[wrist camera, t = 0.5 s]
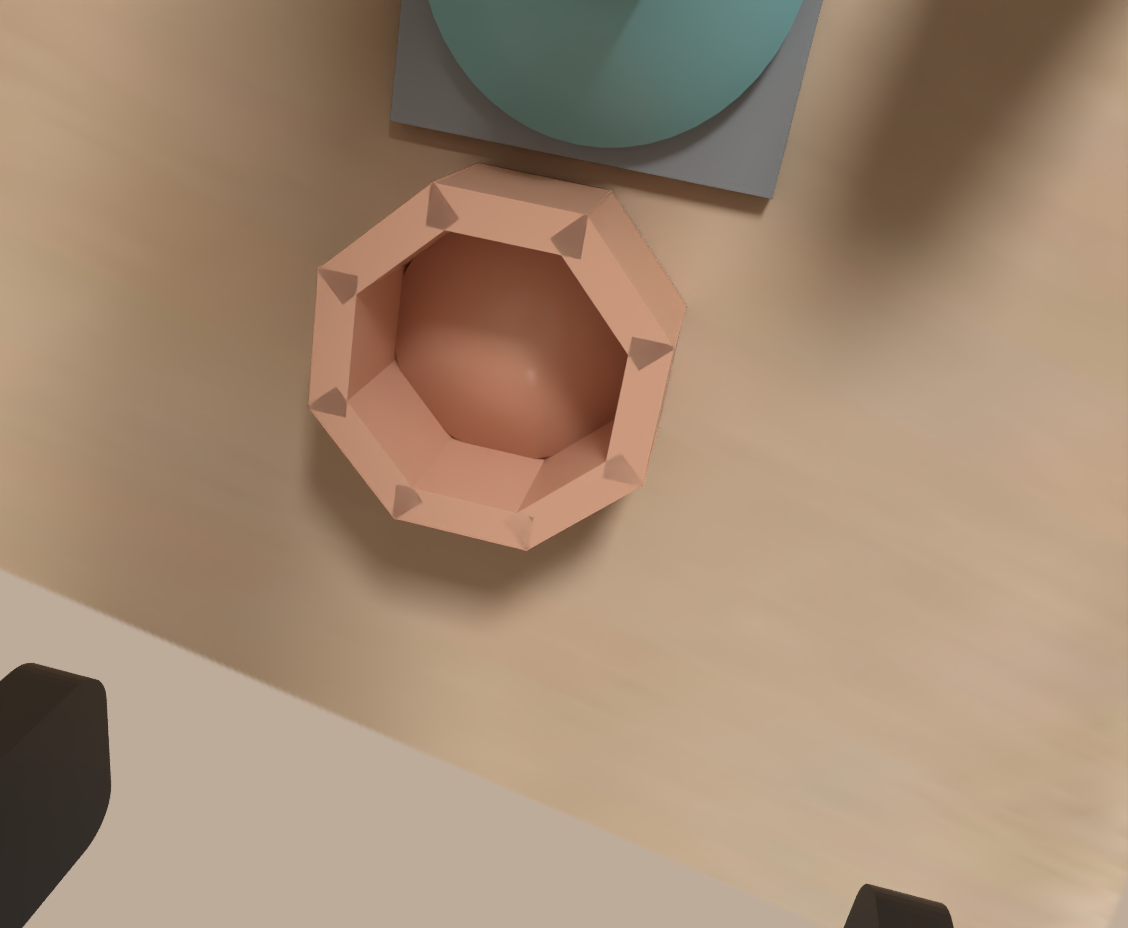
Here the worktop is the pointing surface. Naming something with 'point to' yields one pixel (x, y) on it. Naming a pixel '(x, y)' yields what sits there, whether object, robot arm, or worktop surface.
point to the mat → (700, 155)
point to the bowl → (496, 355)
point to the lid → (613, 61)
